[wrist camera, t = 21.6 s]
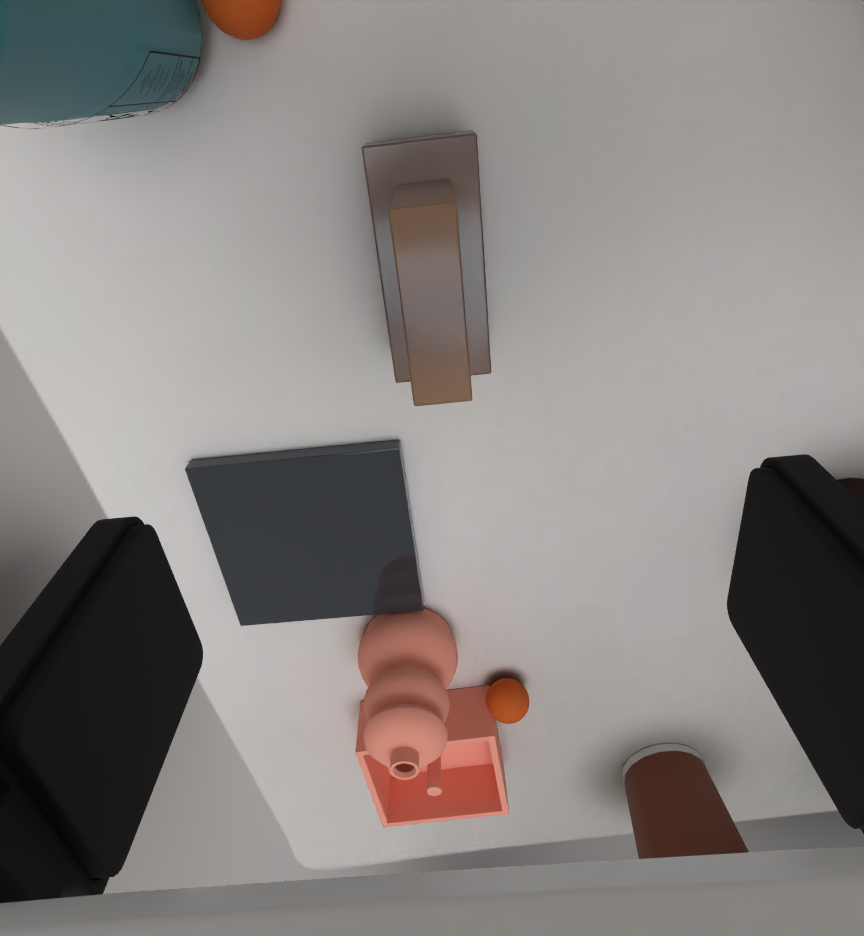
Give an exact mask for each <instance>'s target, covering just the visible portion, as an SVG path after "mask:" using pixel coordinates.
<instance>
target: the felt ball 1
mask: <svg viewBox="0 0 864 936" xmlns="http://www.w3.org/2000/svg"><path fill="white" fill-rule="evenodd" d="M201 1H202V4H203V6H204V9H205V11H206V12H207V14H208V16H209V17H210V19H211V20H212V21H213V22H214V23H215V24H216V25H217V26H218V27H219V28H220V29H221V30H222V31H224V32H225V33H227V34H229V35H231V36H233V37H236V38H239V39H254V38H257V37H260V36H262V35H264V34H265V33H266V32H268V31H269V30H270V29H271V28H272V26H273V25H274V23H275V22H276V20H277V18H278V15H279V11H280V7H281V0H201Z"/></svg>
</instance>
